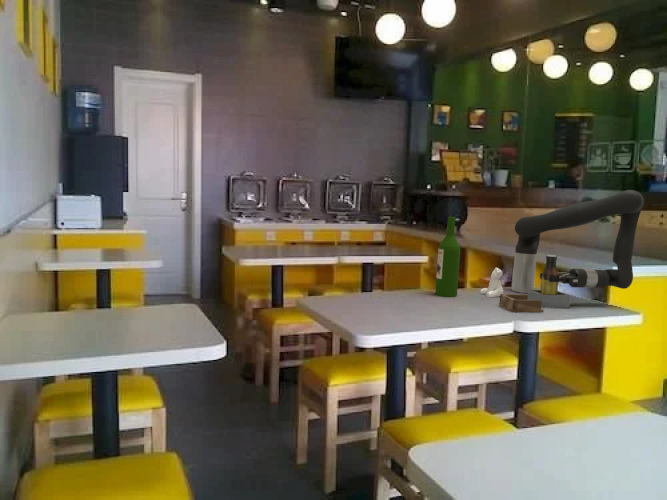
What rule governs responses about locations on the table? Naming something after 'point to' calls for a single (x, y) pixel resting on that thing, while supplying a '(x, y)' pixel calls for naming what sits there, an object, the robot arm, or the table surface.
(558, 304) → the grey open box
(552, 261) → the sauce bottle
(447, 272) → the wine bottle
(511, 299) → the tray
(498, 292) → the white creature statuette
